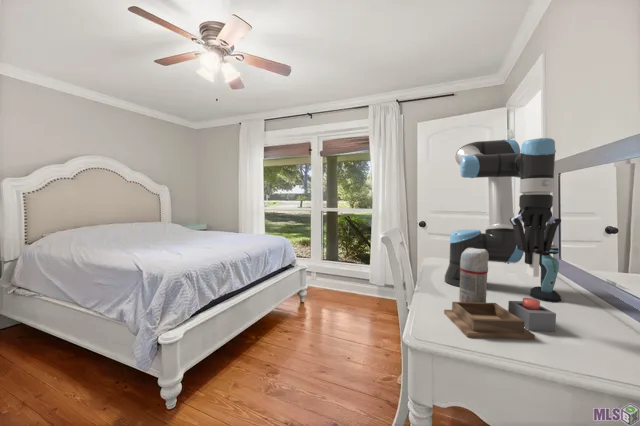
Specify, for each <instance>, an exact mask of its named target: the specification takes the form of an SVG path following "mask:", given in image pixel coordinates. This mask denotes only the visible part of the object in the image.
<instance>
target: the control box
mask: <svg viewBox="0 0 640 426" xmlns="http://www.w3.org/2000/svg"><path fill="white" fill-rule="evenodd" d="M522 304H523V300H508V307H507V308H508V309H507V311H509V312H510V313H512V314H513V315H515V316H517V317H518V318H520V319H521V320H523V321H524V322H525V324H524V327H525V329H528V331H529V330H538V331H537V332H556V324H557V321H556V320H557V313H555V312H554V311H551V310H550V309H548V308H546V307H544V306H542V305H540V310H527V309H526V308H524V307H522Z"/></svg>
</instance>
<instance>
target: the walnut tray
mask: <svg viewBox="0 0 640 426" xmlns="http://www.w3.org/2000/svg"><path fill="white" fill-rule="evenodd" d="M451 304H452V305H451V309H444V310H443V314H444V315H445V316H446V317H447V318H448V319H449V320H450V322H452V323H453V324H454V325H455V326H456V327H457V328H458V329H459V330H460V331H461V332H462V333H463V334H464V335H465V336H466V338H479V339H480V338H481V339H482V338H483V339H506V340H507V339H508V340H509V339H510V340H511V339H512V340H513V339H514V340H536V339H535V337H536V335H535V334H534V333H532V332H531V331H529V330H527V329H526V328H524V324H525V322H524V321H523V320H521V319H520V318H518V317H517V316H515V315H513V314H512V313H510V312H509V311H508V309H505V308H504V307H502V306H501V305H499V304H498V303H496V302H486V303H480V302H459V301H452V303H451Z"/></svg>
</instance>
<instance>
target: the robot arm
mask: <svg viewBox="0 0 640 426" xmlns="http://www.w3.org/2000/svg"><path fill="white" fill-rule="evenodd" d="M556 153H557V152H556V141H555V139H553V138H551V137H548V138H547V137H542V138H541V137H539V138H533V139H527V140H525V141H524V142H522V143H521V147H520V145H519V143H518V141H516V140H515V139H499V140H485V141H484V140H481V141H473V142H470V143H467V144H464V145H463V146H461V147H460V148H459V149H458V150H457V151H456V153H455V160H456V163H457V164H458V165H459V167H460V176H461V178H463V179H464V178H470V179H474V178H475V179H476V178H488V179H487V180H488V183H487V184H488V185H487V186H488V215H489V216H488V218H489V220H488V223H489V226H488V227H487V228H486V229H485V231H484V232H485V233H483V232H482V231H481V229H461V230H455V231H452V232H451V233H450V238H449V264H448V267H447V269H446V271H445V274H444V282H445V283H447V284H449V285H451V286H455V287H458V288H460V260H461V255H462V253H463V252H464V251H465V249H467V248H476V249H486V250H487V252H488V253H489V260H488V262H497V263H504V264H507V263H509V264H516V263H519V262H520V261H521V260H522V258H523V256H524V264H526V275H528V276H530V277H533V278H534V277H535V278H536V277H537V278H538V277H539V276H540V275H539V274H540V265H541V263H542V254H545V253H546V251H547V252H549V251H550V249H551V245H552V244H553V242H554V238H555V235H556V232H557V228H558V227H559V225H560V224H561V222H562V219H561V218H556V217H555V216H554V215H553V212H552V208H553V205H554V203H553V202H554V196H553V195H552V194H553V193H554V181H555V180H554V179H555V177H554V176H555V164H556V163H555V161H556ZM513 178H519V179H520V180H519V193H520V195H519V197H518V198H519V200H518V201H519V203H518V204H519V205H518V206H519V210H518V212H517V214H518V215H516V216H515V217H514V206H513V205H514V202H513V201H514V200H513ZM551 193H552V194H551Z"/></svg>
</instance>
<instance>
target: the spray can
mask: <svg viewBox="0 0 640 426" xmlns="http://www.w3.org/2000/svg"><path fill="white" fill-rule="evenodd" d="M488 260H489V253H488V252H487V250H486V249H476V248H467V249H465V251H464V252H463V253H462V255H461V260H460V287H459V301H458V302H480V303H487V292H488V291H487V289H488V287H487V286H488V272H489V261H488Z"/></svg>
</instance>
